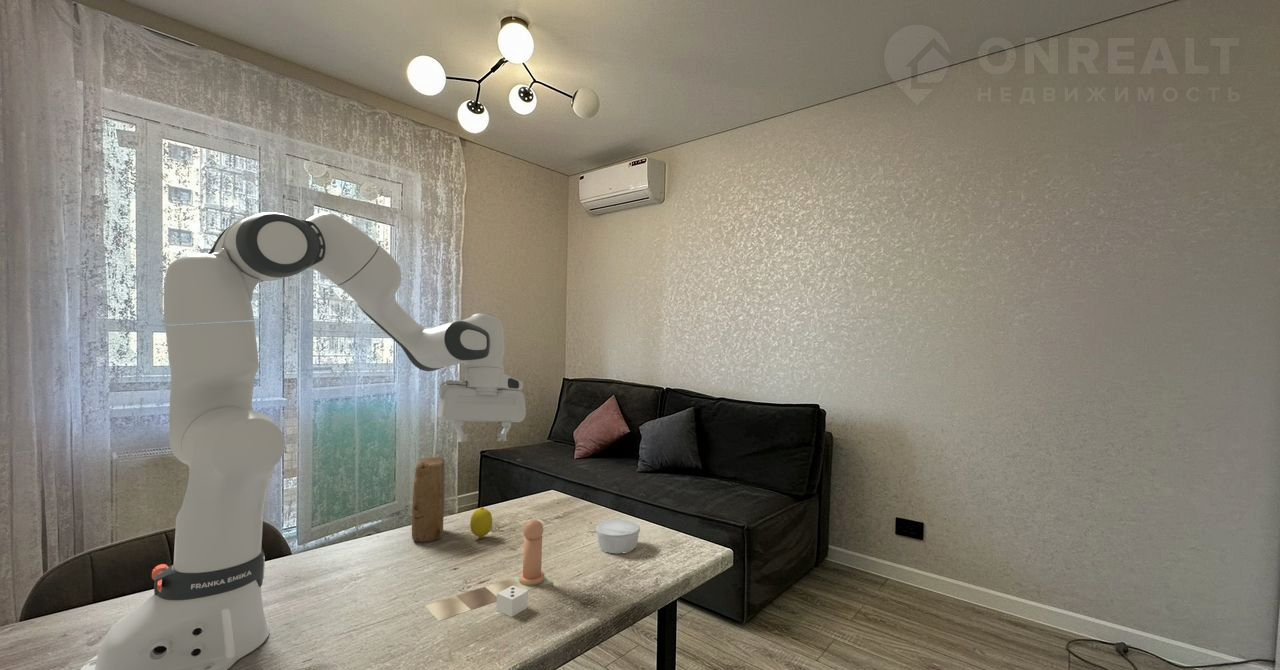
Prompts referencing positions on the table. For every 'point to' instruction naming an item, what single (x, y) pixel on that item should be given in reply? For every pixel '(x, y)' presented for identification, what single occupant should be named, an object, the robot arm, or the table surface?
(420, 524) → the block
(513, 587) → the die
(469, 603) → the board
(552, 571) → the table surface
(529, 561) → the round-topped peg
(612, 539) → the ramekin
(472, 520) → the lemon
